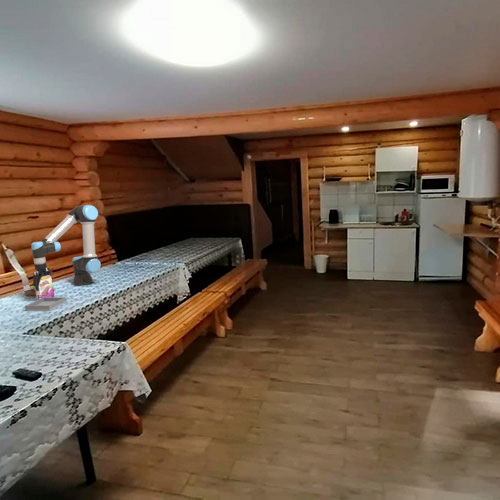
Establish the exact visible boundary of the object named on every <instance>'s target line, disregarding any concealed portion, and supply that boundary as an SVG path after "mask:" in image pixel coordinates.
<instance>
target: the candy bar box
mask: <svg viewBox="0 0 500 500" xmlns="http://www.w3.org/2000/svg"><path fill="white" fill-rule="evenodd" d="M52 277H53V275H52V276H50V275H48V276H42V277H41V280H40V283H39V286H40V290H41V295H37V291H36V287H35V291H36V296H35V297H36V301H37V300H39V299H41V298H45V297H55V289H54V283H53V281H52ZM53 289H54V290H53Z"/></svg>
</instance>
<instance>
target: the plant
mask: <svg viewBox="0 0 500 500" xmlns="http://www.w3.org/2000/svg"><path fill="white" fill-rule="evenodd" d="M30 288H31V289H27V290H25V291H23V292H24V295H25V297H33V298H34V297H36V291H35V286H33V285H32V286H31V285H30ZM53 290H54V291H55V289H54V288H53Z"/></svg>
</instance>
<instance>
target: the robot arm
mask: <svg viewBox="0 0 500 500" xmlns="http://www.w3.org/2000/svg"><path fill="white" fill-rule="evenodd" d="M98 217H99V211H98V209H97V208H96V207H95V206H94V205H91V204H90V205H89V204H86V205H85V204H84V205H83V204H81V205H77V206H75V207H73V209H71V210H70V211H69V212H68V213H67V214H66V217H65V218H63V220H61V222H60V223H58V225H57V226H55V228H54V229H52V230H51V231H50V232H49V233H48V235H46V236H45V237H44V238H43V239H42V240H41V241H33V242H32V243H30V245H31V246H30V248H31V252H32V253H31V254H32V257H33V258H32V259H33V263H34V269H35V270H36V271H33V279H32V287H34V286H35V287H36V291H37V295H41V290H40V286H39V283H40V280H41V277H42V276H48V275H50V276H52V282H53V281H54V278H53V275H52V273H51V271H50V268H49V267H48V266H47V263H46V262H47V259H46V255H47V254H52V253H57V252H60V251H61V249H62V246H61V243H60V242H59V241H58V240H59V239H60V238H61V237H62V236H64V234H65V233H66V232H67V231H68V230H69V229H70V228H71V227H73V225H74V224H77V223H80V224H81V226H82V227H81V229H82V243H83V244H82V245H83V255H78V256H75V257H73V258H71V259H72V260H71V261H72V262H71V263H72V267H73V275H74V277H73V282H72V283H73V284H72V285H74V286H76V287H77V286H78V287H79V286H86V285H90V284H93V283H94V280H93V279H94V278H93V277H92V275H91V274H95V273H98V272H99V270H100V268H101V265H102V264H101V261H100V260H99V258H98V257H99V256H98V255H97V254H96V242H95V241H96V239H95V223H96V222H97V221H96V219H97V218H98Z"/></svg>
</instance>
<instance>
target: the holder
mask: <svg viewBox="0 0 500 500" xmlns="http://www.w3.org/2000/svg"><path fill="white" fill-rule="evenodd" d="M67 302H68V301H67V297H66V296H64V297H62V296H60V297H58V296H57V297H56V296H54V297H45V298H41V299H39V300H37V299H36V300H35V301H33V302H30V303H28V304H26V305H24V310H25V312H45V311H46V312H50V311H52V310H55V309H56V308H58V307H60V306H62V305H64V304H66V303H67Z"/></svg>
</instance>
